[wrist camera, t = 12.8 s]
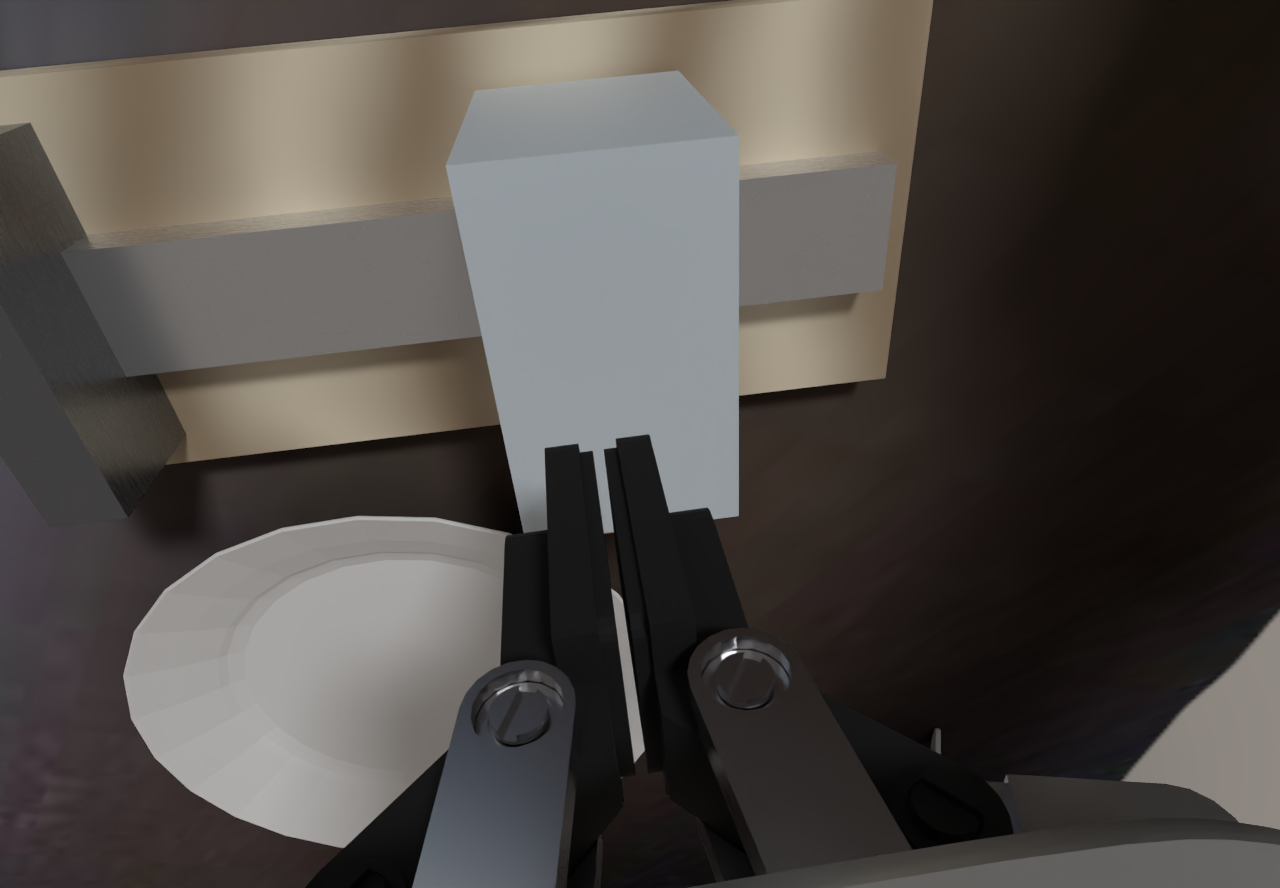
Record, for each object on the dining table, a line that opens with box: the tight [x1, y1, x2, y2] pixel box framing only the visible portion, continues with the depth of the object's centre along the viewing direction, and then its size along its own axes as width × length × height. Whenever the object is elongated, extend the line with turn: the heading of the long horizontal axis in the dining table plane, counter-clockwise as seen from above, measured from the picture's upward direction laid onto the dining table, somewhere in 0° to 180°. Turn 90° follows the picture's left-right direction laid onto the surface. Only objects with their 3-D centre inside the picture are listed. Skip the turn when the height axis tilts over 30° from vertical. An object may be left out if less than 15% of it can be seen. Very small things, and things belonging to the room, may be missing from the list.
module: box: [446, 71, 739, 534], centre depth 18 cm, size 5×9×7 cm, turn 4°
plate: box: [123, 516, 645, 848], centre depth 32 cm, size 21×21×2 cm
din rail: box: [0, 123, 897, 528], centre depth 19 cm, size 24×9×4 cm, turn 94°
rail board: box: [0, 0, 933, 465], centre depth 22 cm, size 26×11×2 cm, turn 94°
